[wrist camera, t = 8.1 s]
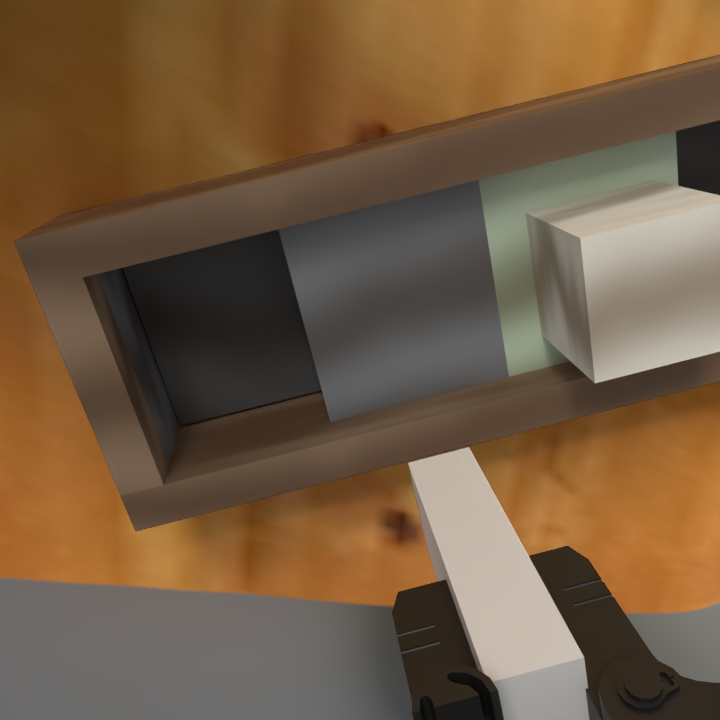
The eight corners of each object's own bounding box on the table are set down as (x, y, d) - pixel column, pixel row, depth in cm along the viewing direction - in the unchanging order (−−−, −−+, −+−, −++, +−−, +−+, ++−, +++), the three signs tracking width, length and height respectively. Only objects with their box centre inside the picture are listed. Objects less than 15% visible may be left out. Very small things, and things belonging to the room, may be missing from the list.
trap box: (58, 216, 32) (13, 241, 27) (826, 28, 33) (936, 15, 28) (156, 467, 38) (135, 531, 32) (818, 298, 39) (909, 332, 33)
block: (525, 212, 31) (580, 238, 25) (653, 180, 31) (736, 199, 25) (541, 335, 33) (595, 383, 28) (661, 304, 33) (738, 346, 28)
